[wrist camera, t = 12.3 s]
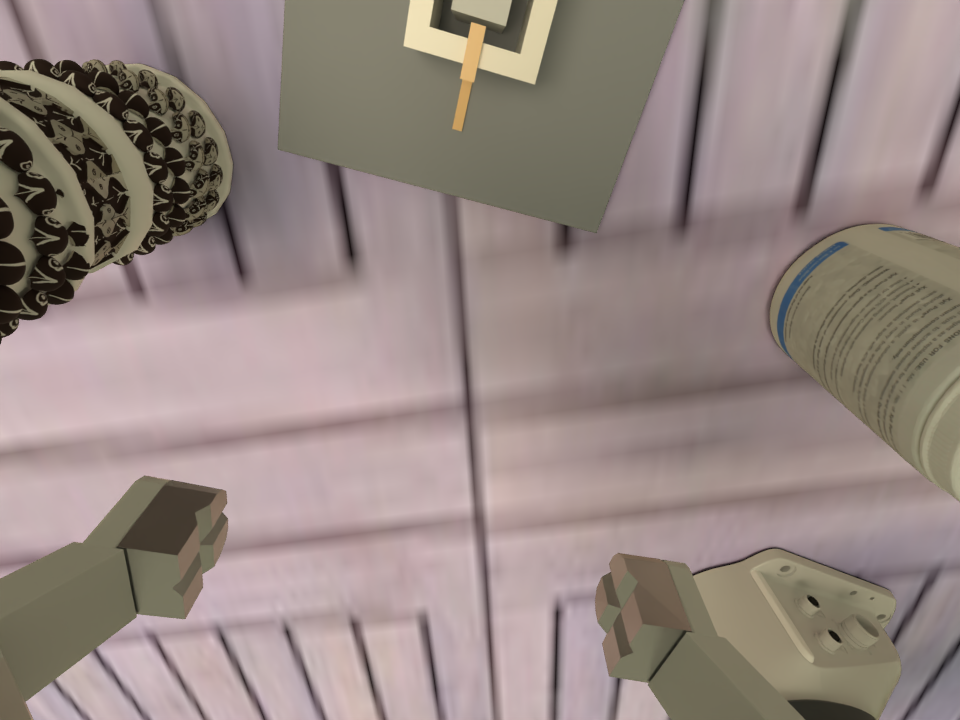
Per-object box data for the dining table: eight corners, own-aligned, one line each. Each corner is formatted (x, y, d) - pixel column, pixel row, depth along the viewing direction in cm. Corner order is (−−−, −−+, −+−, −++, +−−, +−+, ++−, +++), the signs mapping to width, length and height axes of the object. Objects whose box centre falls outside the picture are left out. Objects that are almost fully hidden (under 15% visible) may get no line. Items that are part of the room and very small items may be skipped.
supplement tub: (776, 377, 35) (944, 552, 22) (750, 261, 31) (939, 396, 18) (927, 323, 33) (1207, 482, 20) (922, 189, 29) (1273, 286, 16)
